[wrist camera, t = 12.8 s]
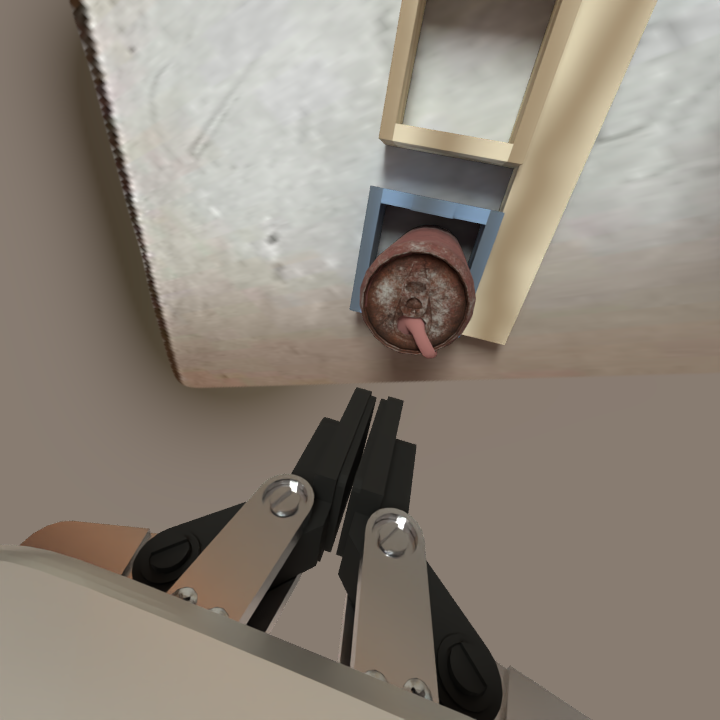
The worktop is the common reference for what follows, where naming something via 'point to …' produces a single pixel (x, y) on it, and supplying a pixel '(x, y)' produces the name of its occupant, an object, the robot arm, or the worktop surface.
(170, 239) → the worktop surface
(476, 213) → the open rectangular box frame
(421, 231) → the can
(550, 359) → the worktop surface
